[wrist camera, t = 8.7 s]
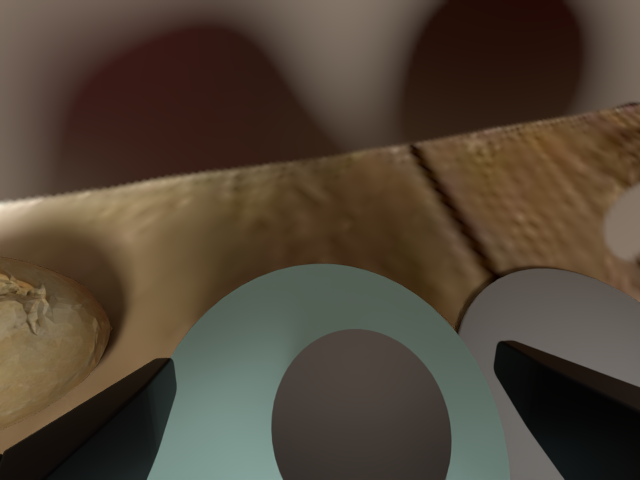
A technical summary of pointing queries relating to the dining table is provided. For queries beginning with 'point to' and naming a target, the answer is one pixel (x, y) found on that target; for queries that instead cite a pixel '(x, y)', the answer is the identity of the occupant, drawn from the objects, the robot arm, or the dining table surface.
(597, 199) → the dining table surface
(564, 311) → the mat
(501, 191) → the dining table surface
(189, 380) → the lid
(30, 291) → the bread roll
